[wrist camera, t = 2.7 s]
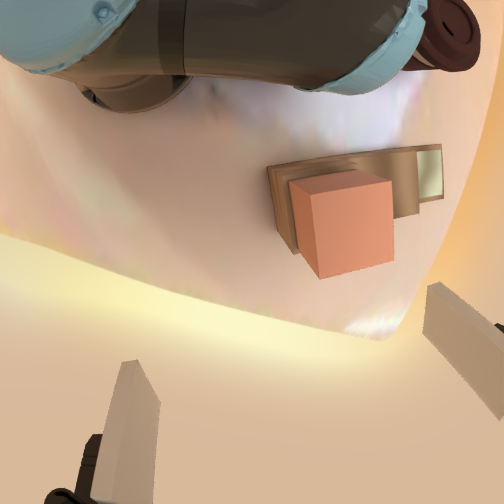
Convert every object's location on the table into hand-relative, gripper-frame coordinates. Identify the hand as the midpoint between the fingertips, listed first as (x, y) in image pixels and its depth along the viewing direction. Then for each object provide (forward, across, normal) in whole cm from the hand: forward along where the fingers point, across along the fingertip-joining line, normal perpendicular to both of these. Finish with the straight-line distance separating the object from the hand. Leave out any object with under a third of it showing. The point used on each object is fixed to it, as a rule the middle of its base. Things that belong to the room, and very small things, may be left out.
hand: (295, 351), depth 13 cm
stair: (+27, +17, 0) cm, 32 cm away
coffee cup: (+27, +22, +18) cm, 39 cm away
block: (+19, +8, 0) cm, 21 cm away
